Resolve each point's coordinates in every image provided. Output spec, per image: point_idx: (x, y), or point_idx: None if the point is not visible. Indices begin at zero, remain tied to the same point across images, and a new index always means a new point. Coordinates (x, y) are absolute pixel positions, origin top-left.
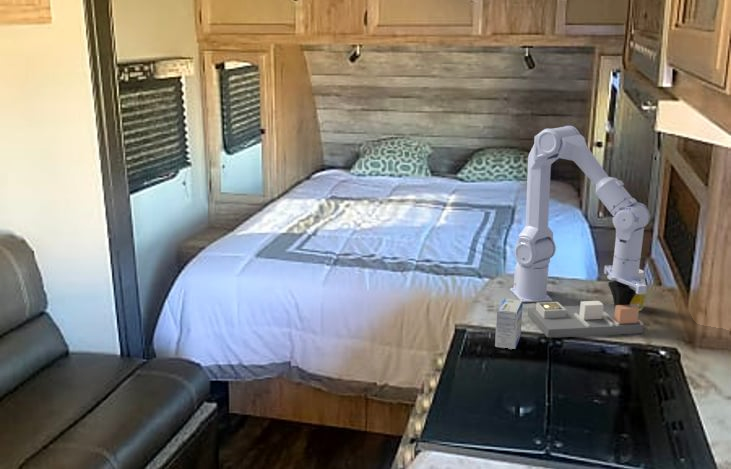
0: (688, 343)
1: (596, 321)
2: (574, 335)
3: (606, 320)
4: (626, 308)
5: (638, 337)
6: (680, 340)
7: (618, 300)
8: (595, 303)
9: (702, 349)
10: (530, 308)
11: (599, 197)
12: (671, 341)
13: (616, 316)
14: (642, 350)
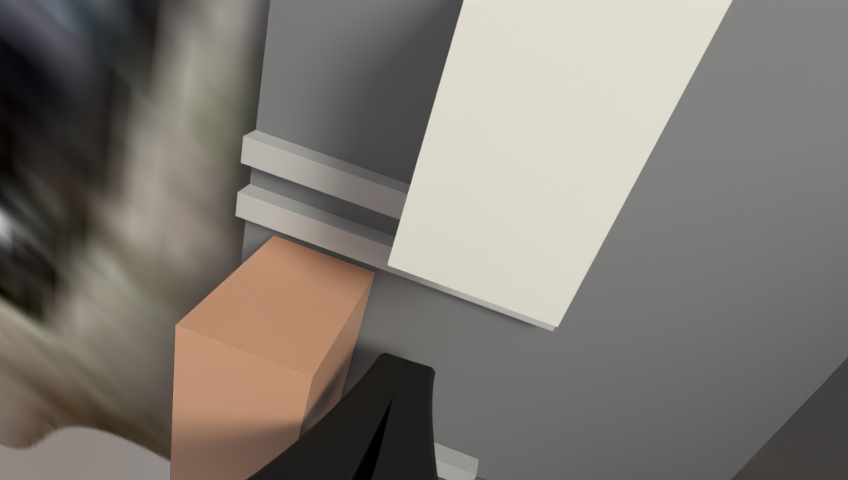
0: (95, 417)
1: (418, 79)
2: None
3: (358, 174)
4: (188, 393)
5: (207, 264)
6: (133, 417)
7: (285, 457)
8: (483, 189)
9: (26, 409)
10: None
11: None
12: (126, 374)
13: (315, 283)
14: (5, 117)
